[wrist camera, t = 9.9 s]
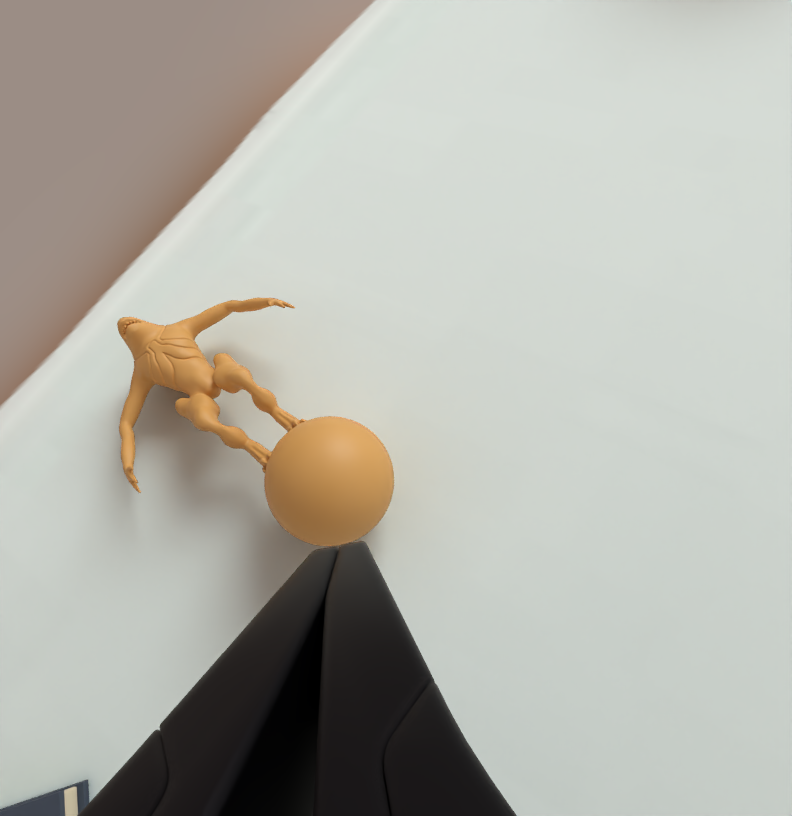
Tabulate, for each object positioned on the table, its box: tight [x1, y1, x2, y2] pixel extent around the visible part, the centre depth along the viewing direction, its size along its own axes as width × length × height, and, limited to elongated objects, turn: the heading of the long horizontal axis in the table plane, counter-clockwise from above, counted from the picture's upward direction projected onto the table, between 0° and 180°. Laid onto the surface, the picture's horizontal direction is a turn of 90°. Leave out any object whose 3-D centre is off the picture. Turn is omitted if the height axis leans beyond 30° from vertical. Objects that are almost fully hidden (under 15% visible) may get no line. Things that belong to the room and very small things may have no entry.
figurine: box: [117, 298, 394, 546], centre depth 18 cm, size 8×6×12 cm
